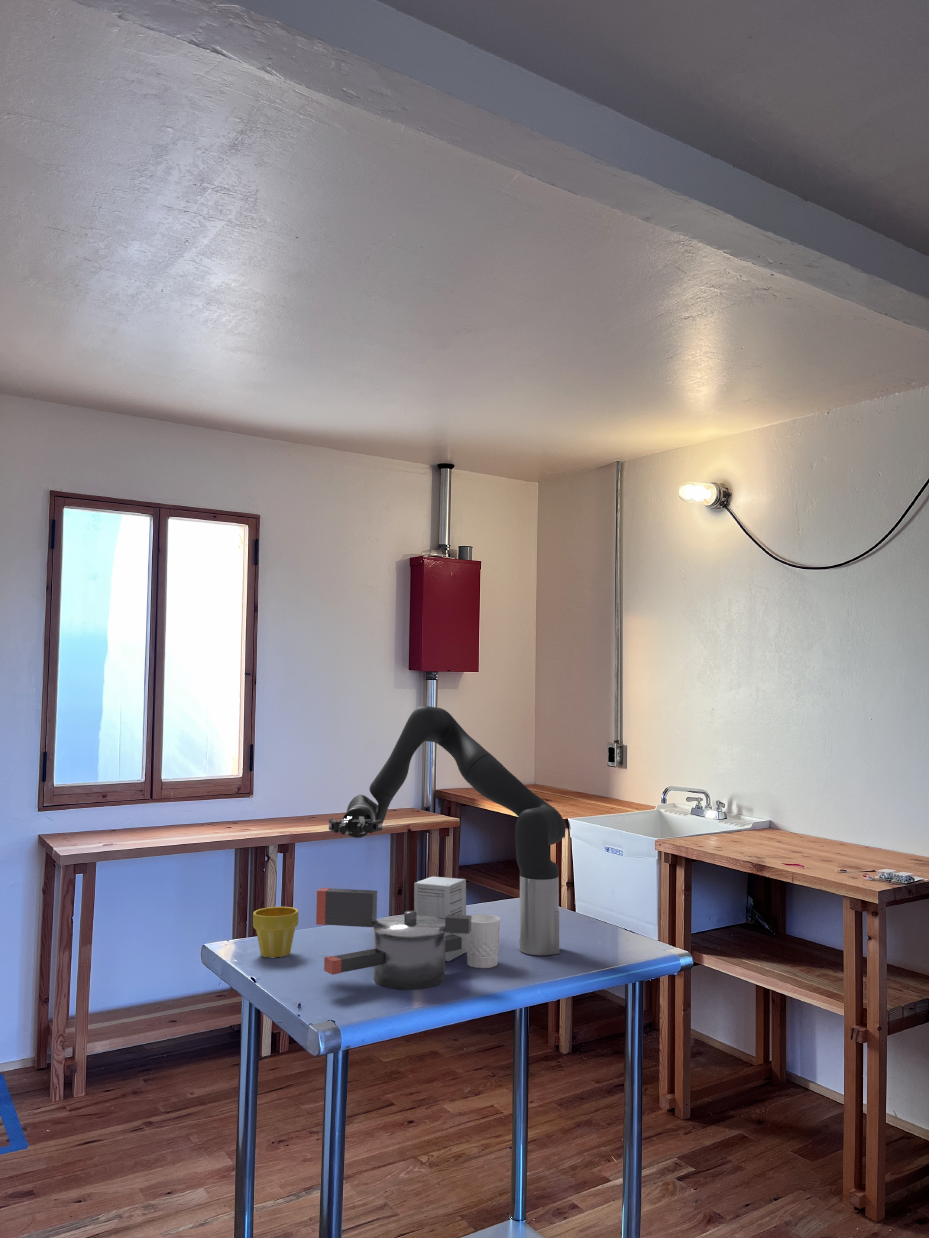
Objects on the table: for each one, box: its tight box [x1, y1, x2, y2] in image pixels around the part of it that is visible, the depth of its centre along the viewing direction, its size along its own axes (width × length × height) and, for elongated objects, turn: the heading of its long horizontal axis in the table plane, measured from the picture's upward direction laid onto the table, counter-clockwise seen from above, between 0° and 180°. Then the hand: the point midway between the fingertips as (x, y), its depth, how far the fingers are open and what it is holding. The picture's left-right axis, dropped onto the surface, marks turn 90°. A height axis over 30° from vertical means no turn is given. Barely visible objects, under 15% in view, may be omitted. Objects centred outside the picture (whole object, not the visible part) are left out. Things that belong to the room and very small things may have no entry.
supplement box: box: [413, 876, 467, 962], centre depth 212 cm, size 10×9×17 cm
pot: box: [323, 932, 462, 991], centre depth 191 cm, size 27×23×10 cm
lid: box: [315, 887, 471, 938], centre depth 195 cm, size 33×16×7 cm, turn 79°
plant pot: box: [252, 906, 299, 959], centre depth 211 cm, size 10×10×10 cm
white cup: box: [466, 913, 501, 969], centre depth 205 cm, size 8×8×10 cm
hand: (350, 830), depth 215 cm, fingers open, 3 cm apart
